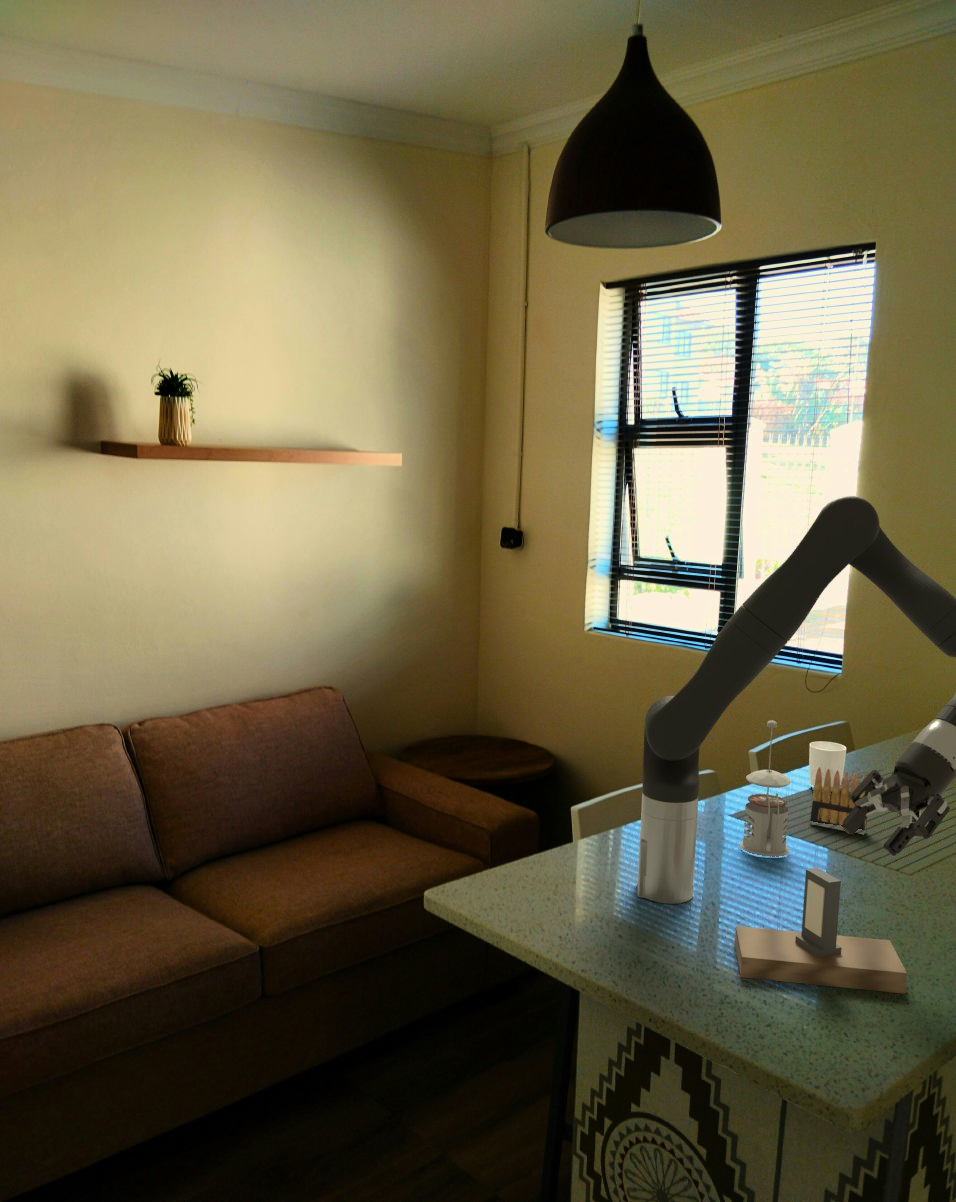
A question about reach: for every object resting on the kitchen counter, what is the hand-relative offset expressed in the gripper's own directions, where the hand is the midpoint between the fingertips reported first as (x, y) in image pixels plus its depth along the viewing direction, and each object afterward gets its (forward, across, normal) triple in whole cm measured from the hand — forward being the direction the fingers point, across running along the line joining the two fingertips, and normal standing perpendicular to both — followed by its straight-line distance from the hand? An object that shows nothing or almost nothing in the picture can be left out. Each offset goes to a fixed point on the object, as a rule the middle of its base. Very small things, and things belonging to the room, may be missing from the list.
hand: (866, 841), depth 146 cm
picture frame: (+16, 0, +6) cm, 17 cm away
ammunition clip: (-12, -47, +38) cm, 62 cm away
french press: (+3, -41, +23) cm, 47 cm away
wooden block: (+18, 0, +8) cm, 20 cm away
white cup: (-23, -69, +49) cm, 88 cm away
